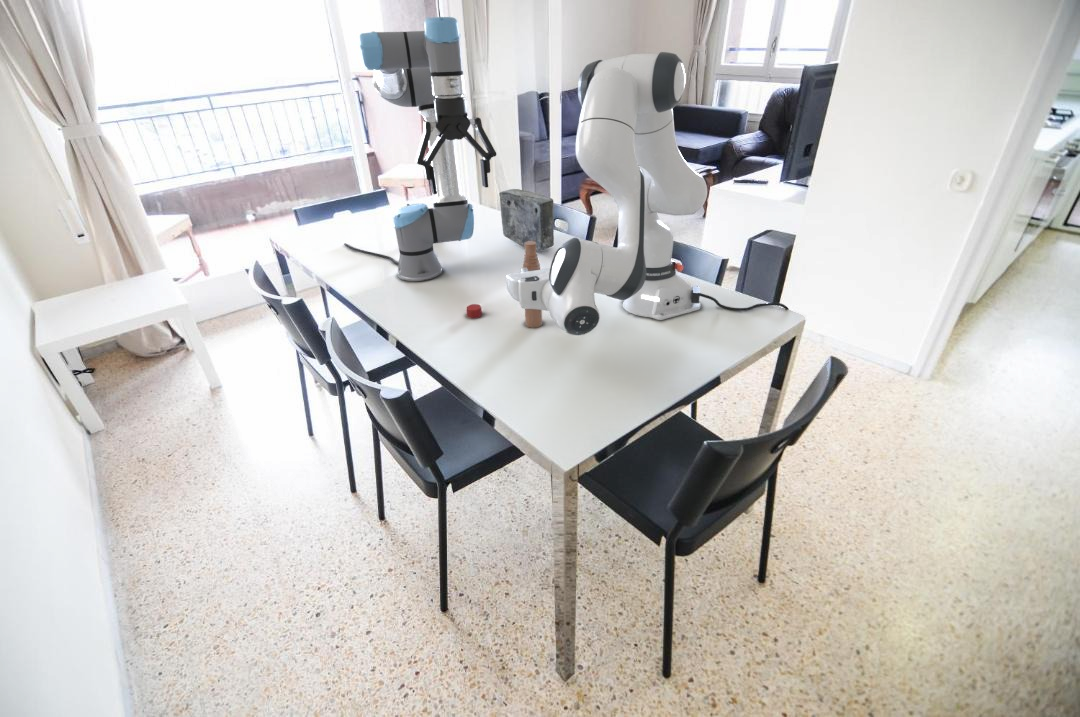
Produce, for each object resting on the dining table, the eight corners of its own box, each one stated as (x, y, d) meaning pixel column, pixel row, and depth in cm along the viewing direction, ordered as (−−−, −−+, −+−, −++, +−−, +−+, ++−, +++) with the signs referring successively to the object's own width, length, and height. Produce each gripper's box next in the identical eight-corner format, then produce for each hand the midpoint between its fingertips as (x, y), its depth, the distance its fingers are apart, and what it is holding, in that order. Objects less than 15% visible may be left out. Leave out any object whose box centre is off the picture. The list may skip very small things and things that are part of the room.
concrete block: (559, 252, 190) (558, 199, 179) (540, 257, 185) (538, 203, 175) (520, 236, 208) (517, 187, 198) (502, 240, 204) (498, 190, 194)
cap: (480, 311, 149) (479, 303, 147) (482, 317, 145) (482, 309, 144) (466, 313, 148) (465, 305, 147) (468, 319, 144) (467, 311, 143)
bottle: (545, 324, 140) (543, 243, 128) (532, 329, 138) (528, 247, 125) (535, 318, 143) (532, 238, 131) (522, 323, 141) (517, 242, 129)
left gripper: (398, 101, 110) (414, 199, 121) (504, 94, 118) (510, 186, 129) (393, 99, 116) (409, 192, 127) (494, 92, 124) (500, 181, 135)
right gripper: (604, 270, 109) (583, 250, 120) (512, 282, 104) (500, 260, 116) (603, 297, 112) (583, 275, 123) (514, 309, 108) (502, 285, 119)
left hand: (460, 189), depth 128 cm, fingers open, 13 cm apart
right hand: (542, 268), depth 120 cm, fingers open, 8 cm apart
